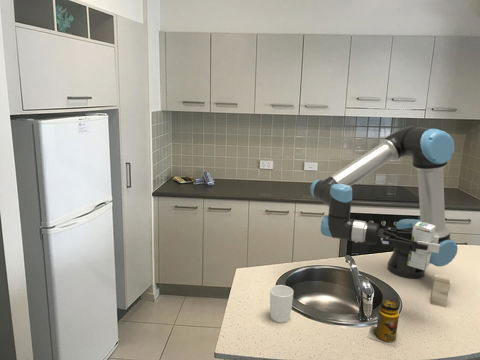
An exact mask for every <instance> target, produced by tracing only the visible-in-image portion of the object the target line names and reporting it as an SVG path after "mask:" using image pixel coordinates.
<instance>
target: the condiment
mask: <svg viewBox="0 0 480 360" xmlns="http://www.w3.org/2000/svg"><path fill="white" fill-rule="evenodd" d="M379 307H380V308H378V313H377V314H378V315H377V322H376V326H375V325H374V324H373V325H372V324H371V326H370V328H369V331H368V334H367V338H368V339H372V340H375V341H378V342H381V343H383V344H386V345H391V346H393V347H396V343H397V340H398V336H399V333H398V324H399V317H400V313H399V304H398V302H396V301H394V300H391V299H383V300H382V301H381V303H380V306H379Z"/></svg>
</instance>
